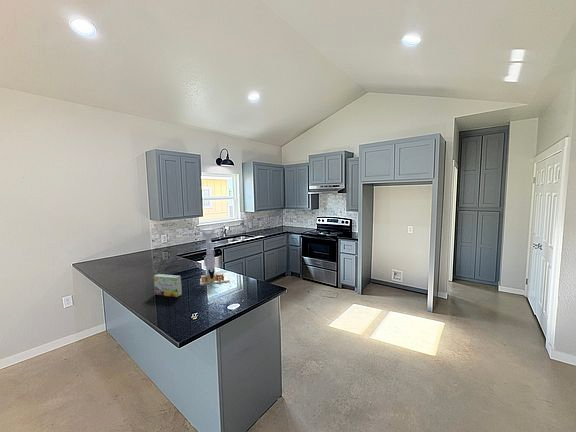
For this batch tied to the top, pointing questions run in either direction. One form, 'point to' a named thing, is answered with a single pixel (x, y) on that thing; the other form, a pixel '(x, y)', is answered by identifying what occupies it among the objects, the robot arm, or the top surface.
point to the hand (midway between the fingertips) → (211, 277)
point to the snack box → (167, 285)
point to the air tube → (210, 278)
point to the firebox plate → (224, 279)
